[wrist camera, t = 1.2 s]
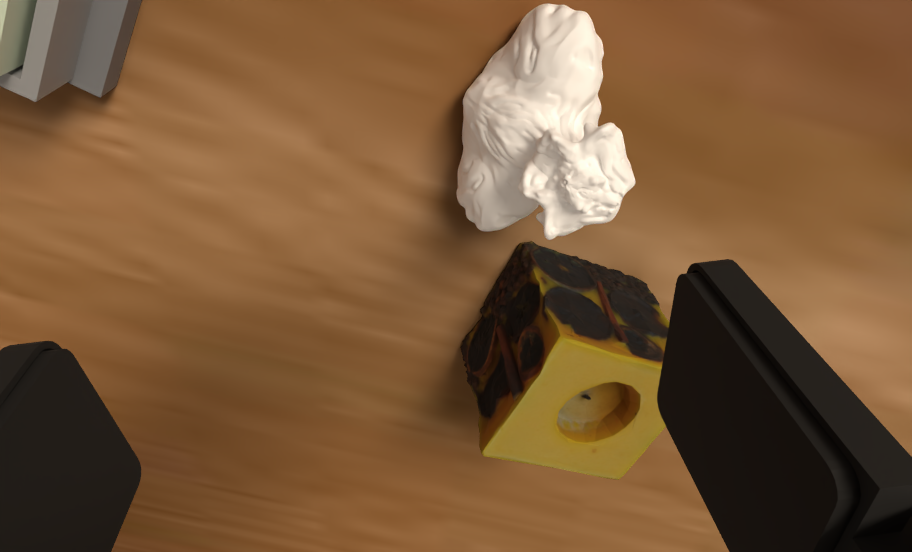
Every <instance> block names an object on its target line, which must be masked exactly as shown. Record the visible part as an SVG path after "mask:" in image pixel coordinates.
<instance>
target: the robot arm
mask: <svg viewBox="0 0 912 552" xmlns="http://www.w3.org/2000/svg"><path fill="white" fill-rule="evenodd" d="M657 403H658V408H659V412H660V415H661V417H662V419H663V421H664V423H665V425H666V427H667V429H668V431H669V433H670V435H671V437H672V439H673V441H674V443H675V445H676V447H677V449H678V451H679V453H680V455H681V457H682V459H683V461H684V463H685V465H686V467H687V469H688V471H689V472H690V474H691V476H692V478H693V480H694V482H695V484H696V486H697V488H698V490H699V492H700V494H701V496H702V498H703V500H704V502H705V504H706V506H707V508H708V510H709V512H710V514H711V516H712V518H713V520H714V522H715V524H716V526H717V528H718V530H719V532H720V534H721V536H722V538H723V540H724V542H725V544H726V546H727V548H728V550H729V552H912V457H911V456H910V455H909V454H908V452H907V451H906V450H905V449H904V448H903V447H902V446H901V445H900V444H899V443H898V441H897V440H896V439H895V438H894V437H893V436H892V435H891V434H890V433H889V431H888V430H887V429H886V428H885V427H884V426H883V425H882V424H881V423H880V422H879V420H878V419H877V418H876V417H875V416H874V415H873V414H872V413H871V412H870V410H869V409H868V408H867V407H866V406H865V405H864V404H863V403H862V402H861V400H860V399H859V398H858V397H857V396H856V395H855V394H854V393H853V392H852V391H851V389H850V388H849V387H848V386H847V385H846V384H845V383H844V382H843V381H842V379H841V378H840V377H839V376H838V375H837V374H836V373H835V372H834V371H833V369H832V368H831V367H830V366H829V365H828V364H827V363H826V362H825V361H824V360H823V358H822V357H821V356H820V355H819V354H818V353H817V352H816V351H815V350H814V348H813V347H812V346H811V345H810V344H809V343H808V342H807V341H806V340H805V339H804V337H803V336H802V335H801V334H800V333H799V332H798V331H797V330H796V329H795V327H794V326H793V325H792V324H791V323H790V322H789V321H788V320H787V319H786V317H785V316H784V315H783V314H782V313H781V312H780V311H779V310H778V309H777V308H776V306H775V305H774V304H773V303H772V302H771V301H770V300H769V299H768V298H767V296H766V295H765V294H764V293H763V292H762V291H761V290H760V289H759V288H758V286H757V285H756V284H755V283H754V282H753V281H752V280H751V279H750V278H749V277H748V275H747V274H746V273H745V272H744V271H743V270H742V269H741V268H740V267H739V265H738V264H737V263H735V262H734V261H733V260H729V259H726V260H718V261H709V262H701V263H694V264H692V265H690V267H689V268H688V271H687V274H681V275H680V276H679V277H678V279H677V283H676V288H675V294H674V300H673V305H672V311H671V317H670V323H669V328H668V334H667V340H666V346H665V351H664V357H663V363H662V369H661V375H660V380H659V386H658V392H657ZM140 478H141V466H140V462H139V460H138V458H137V456H136V455H135V453H134V451H133V450H132V448H131V447H130V445H129V443H128V442H127V440H126V439H125V437H124V435H123V434H122V432H121V431H120V429H119V427H118V426H117V424H116V422H115V421H114V419H113V418H112V416H111V414H110V413H109V411H108V410H107V408H106V406H105V405H104V403H103V402H102V400H101V398H100V397H99V395H98V394H97V392H96V390H95V389H94V387H93V386H92V384H91V382H90V381H89V379H88V378H87V376H86V374H85V373H84V371H83V369H82V368H81V366H80V365H79V363H78V361H77V360H76V358H75V357H74V355H73V354H72V353H71V352H70V351H69V350H67V349H62V348H61V347H60V346H59V345H58V344H56V343H54V342H52V341H42V342H34V343H26V344H17V345H10V346H7V347H4V348H3V349H2V350H1V351H0V552H111V550H112V548H113V546H114V543H115V541H116V538H117V536H118V534H119V531H120V529H121V526H122V524H123V522H124V519H125V517H126V514H127V512H128V509H129V507H130V505H131V502H132V500H133V497H134V495H135V493H136V490H137V488H138V485H139V482H140Z"/></svg>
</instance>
